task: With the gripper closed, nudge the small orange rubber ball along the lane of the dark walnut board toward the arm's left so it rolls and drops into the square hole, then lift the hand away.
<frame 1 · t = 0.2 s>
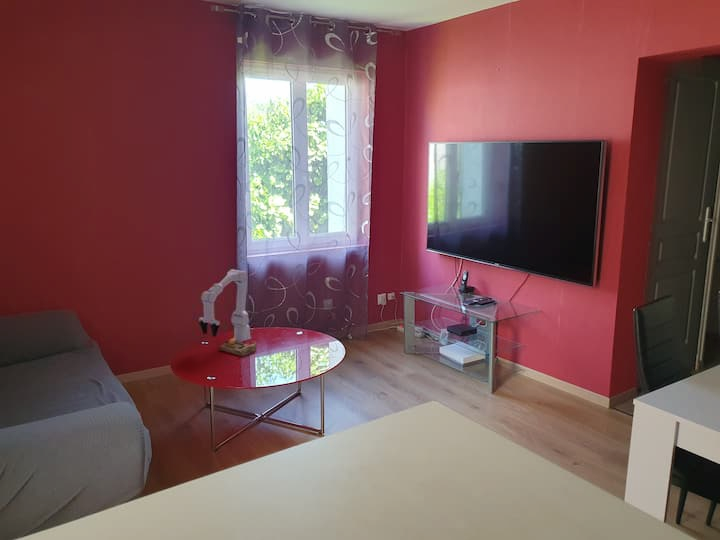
hand: (209, 335, 323), 10 cm above the table, fingers open, 7 cm apart
ball: (231, 341, 329), point 4 cm above the table, touching board
board: (238, 350, 327), on the table
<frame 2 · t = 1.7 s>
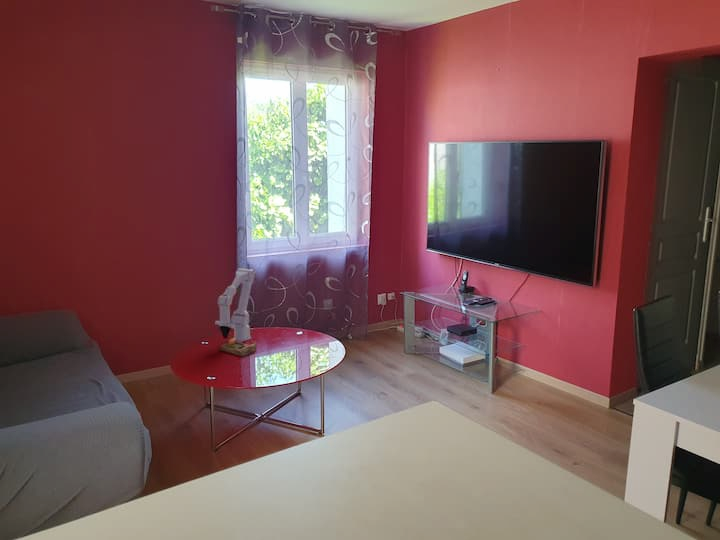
hand: (225, 338, 331), 6 cm above the table, fingers closed
nothing on the table moved.
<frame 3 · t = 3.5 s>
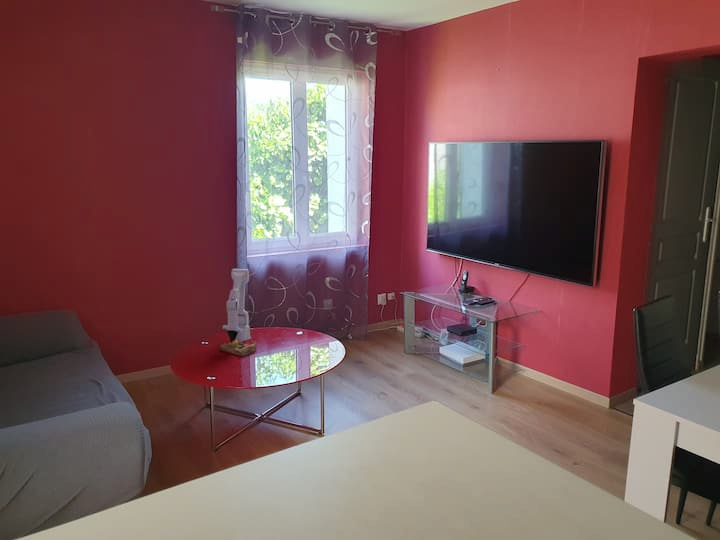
hand: (233, 342, 328), 4 cm above the table, fingers closed, pressing on ball
ball: (235, 343, 327), point 4 cm above the table, tilted 94°, touching board, gripper
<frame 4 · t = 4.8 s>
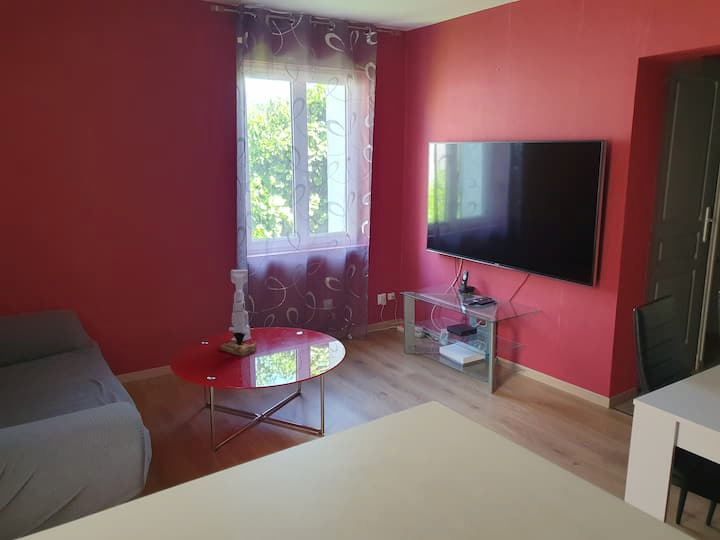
hand: (239, 344, 325), 4 cm above the table, fingers closed
ball: (242, 348, 325), point 2 cm above the table, tilted 120°
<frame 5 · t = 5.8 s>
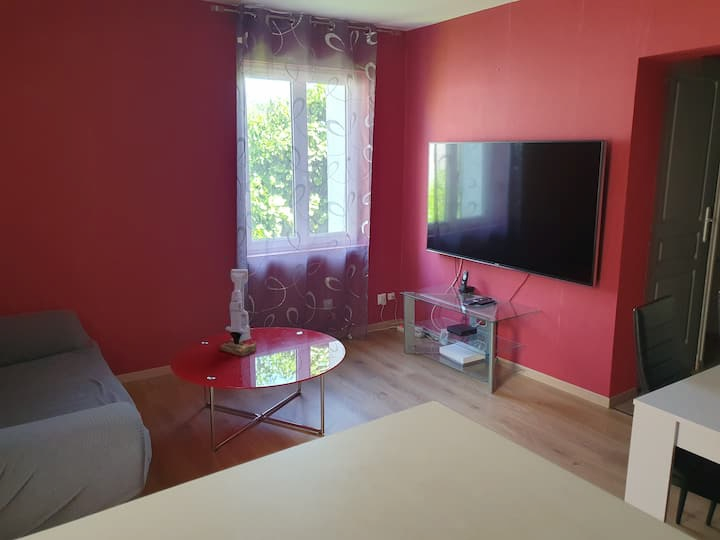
hand: (236, 344, 327), 4 cm above the table, fingers closed
nothing on the table moved.
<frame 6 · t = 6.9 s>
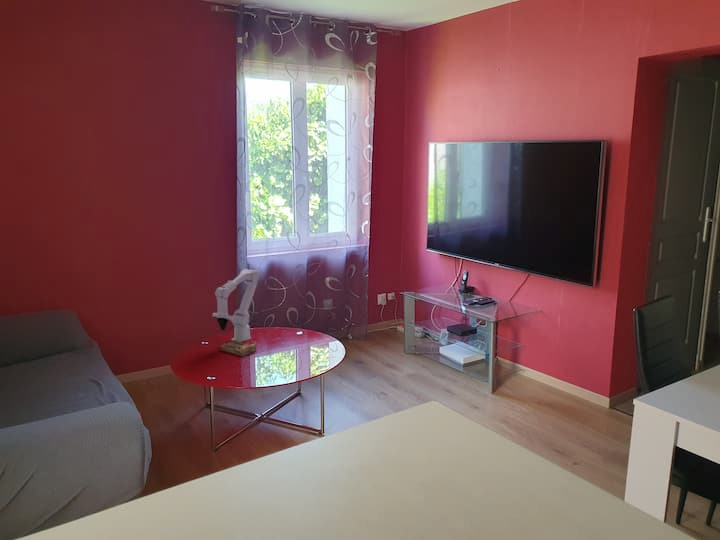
hand: (223, 329, 332), 10 cm above the table, fingers closed
ball: (243, 348, 325), point 2 cm above the table, tilted 110°
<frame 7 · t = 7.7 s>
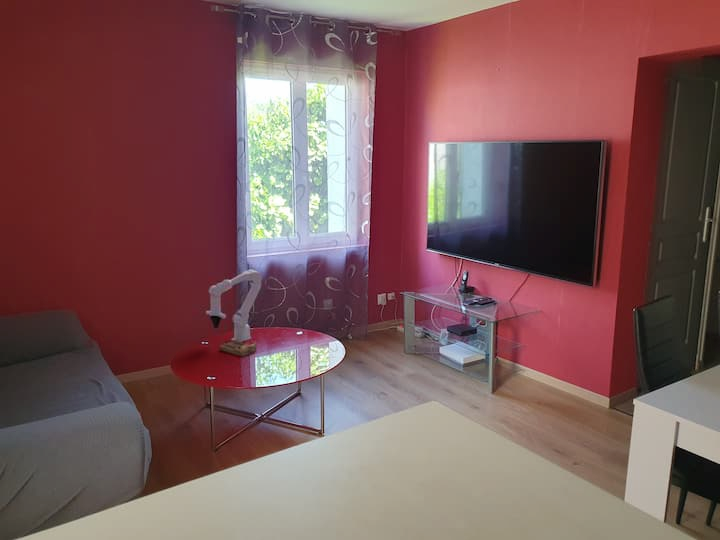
hand: (216, 327, 336), 10 cm above the table, fingers closed
nothing on the table moved.
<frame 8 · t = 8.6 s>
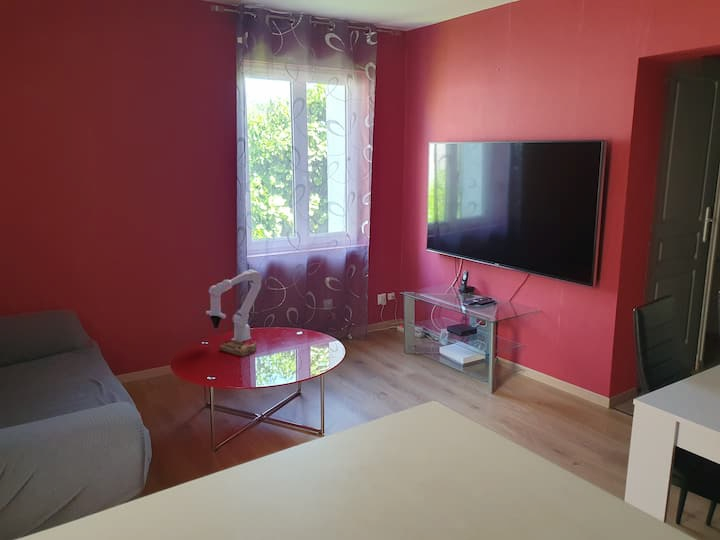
hand: (216, 327, 336), 10 cm above the table, fingers closed
nothing on the table moved.
at the end: ball 0.5 cm from the target spot on the board, point 1.7 cm above the board's base; ball point 1.7 cm above the table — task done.
